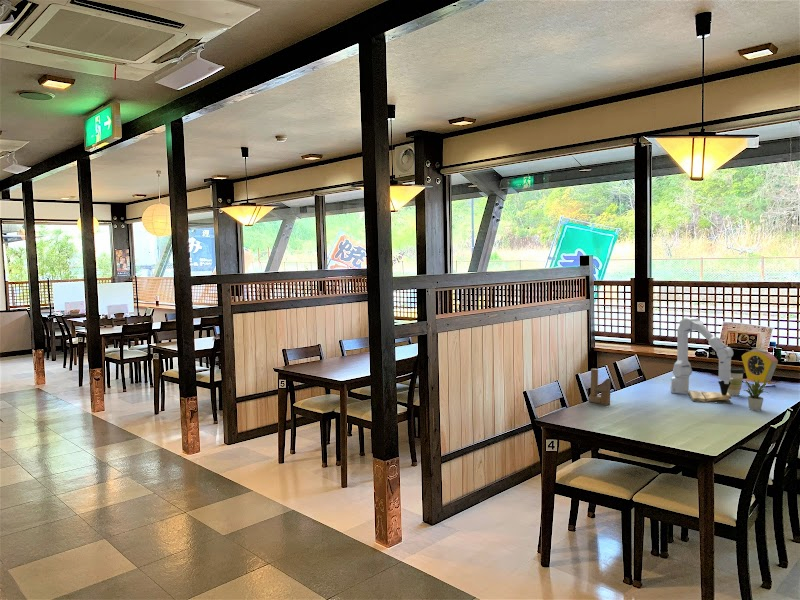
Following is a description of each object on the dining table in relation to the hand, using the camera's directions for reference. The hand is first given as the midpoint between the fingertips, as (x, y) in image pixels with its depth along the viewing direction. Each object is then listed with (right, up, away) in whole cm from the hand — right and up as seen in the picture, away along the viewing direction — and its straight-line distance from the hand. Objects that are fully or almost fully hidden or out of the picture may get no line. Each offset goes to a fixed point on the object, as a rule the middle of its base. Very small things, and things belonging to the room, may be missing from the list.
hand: (723, 394), depth 324 cm
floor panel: (-4, -3, +7) cm, 9 cm away
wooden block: (-68, -4, -2) cm, 68 cm away
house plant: (+7, -5, -18) cm, 20 cm away
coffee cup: (+14, -3, +16) cm, 22 cm away
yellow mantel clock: (+46, -1, +45) cm, 64 cm away
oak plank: (-3, -2, +1) cm, 4 cm away
